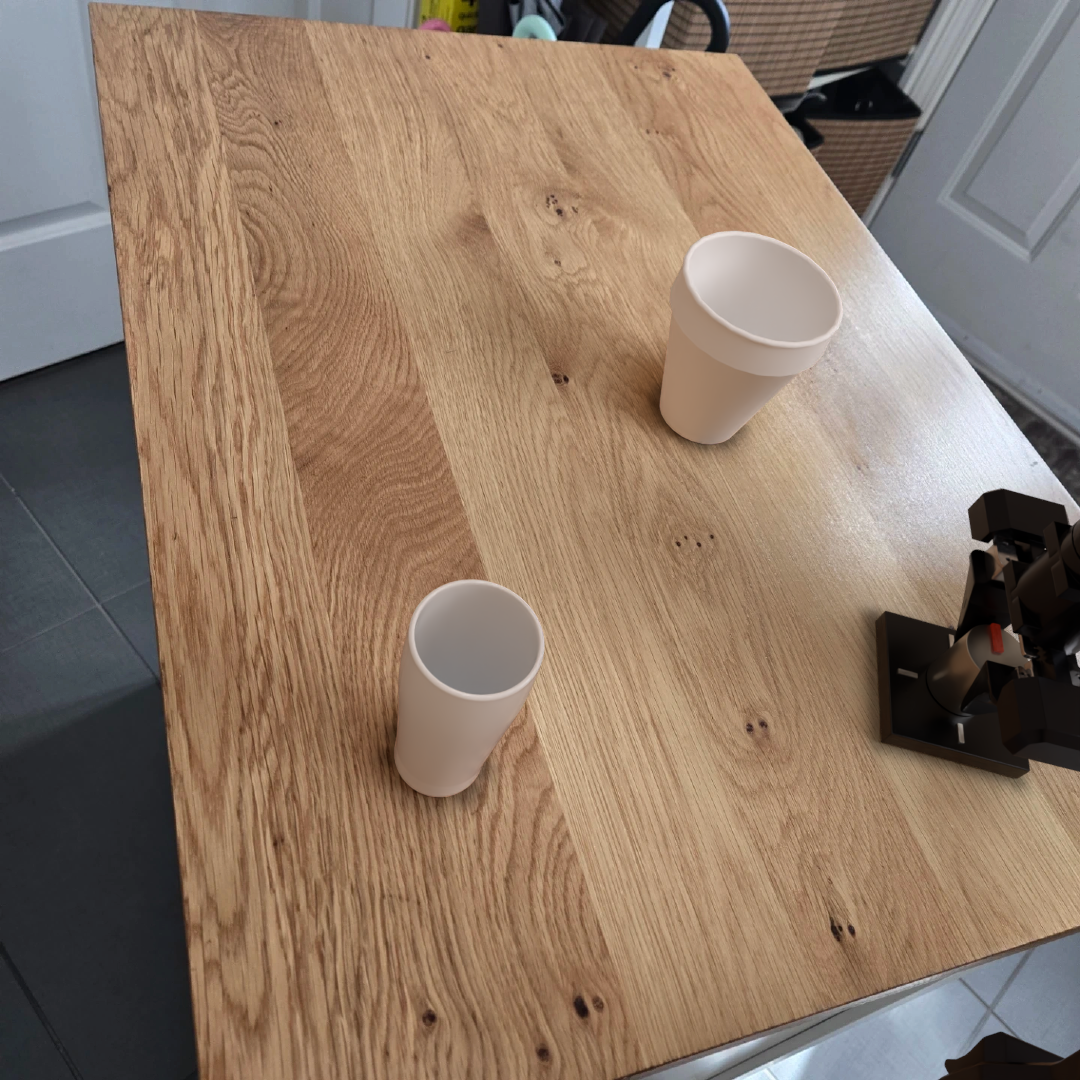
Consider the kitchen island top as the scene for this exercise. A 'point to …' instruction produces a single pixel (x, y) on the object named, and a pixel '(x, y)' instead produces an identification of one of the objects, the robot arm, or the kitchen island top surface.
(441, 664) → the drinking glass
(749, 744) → the kitchen island top surface
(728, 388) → the cup
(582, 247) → the kitchen island top surface
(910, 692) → the hob panel
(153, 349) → the kitchen island top surface
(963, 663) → the hob knob
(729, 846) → the kitchen island top surface
